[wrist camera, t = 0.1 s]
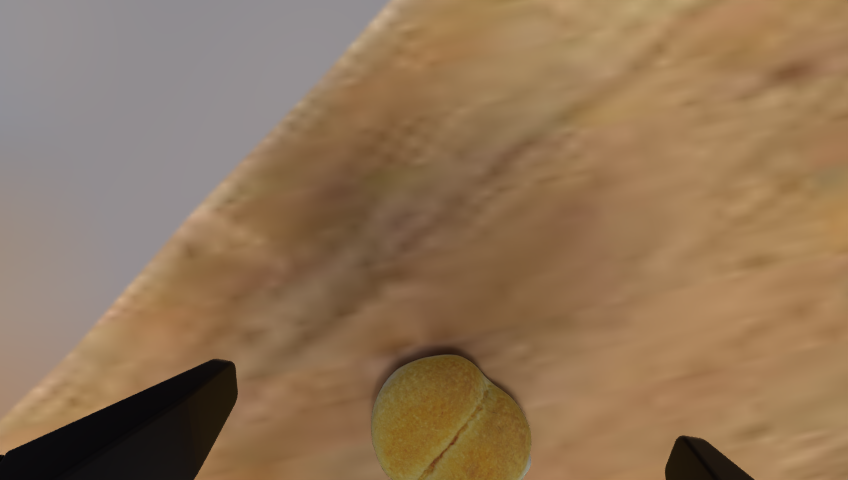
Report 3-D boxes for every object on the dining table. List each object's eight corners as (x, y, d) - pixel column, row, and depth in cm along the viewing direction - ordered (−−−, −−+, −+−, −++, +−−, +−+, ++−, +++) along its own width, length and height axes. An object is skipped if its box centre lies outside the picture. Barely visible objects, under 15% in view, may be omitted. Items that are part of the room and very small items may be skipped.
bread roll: (433, 323, 24) (426, 347, 21) (550, 424, 24) (565, 468, 20) (346, 420, 26) (324, 460, 22) (457, 517, 25) (455, 576, 22)
